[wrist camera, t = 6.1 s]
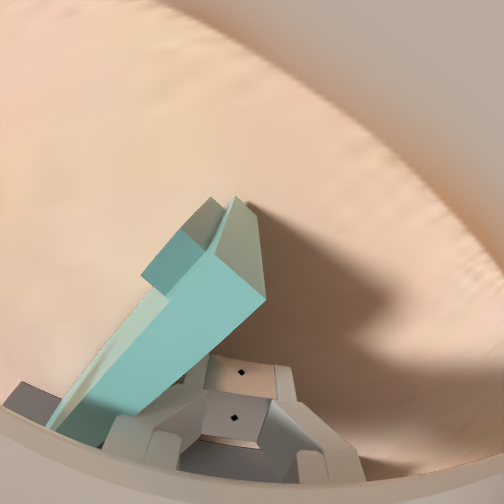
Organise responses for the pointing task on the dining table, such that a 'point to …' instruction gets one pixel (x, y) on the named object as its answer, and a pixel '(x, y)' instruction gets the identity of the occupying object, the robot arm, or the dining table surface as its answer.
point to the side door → (171, 320)
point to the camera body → (191, 460)
